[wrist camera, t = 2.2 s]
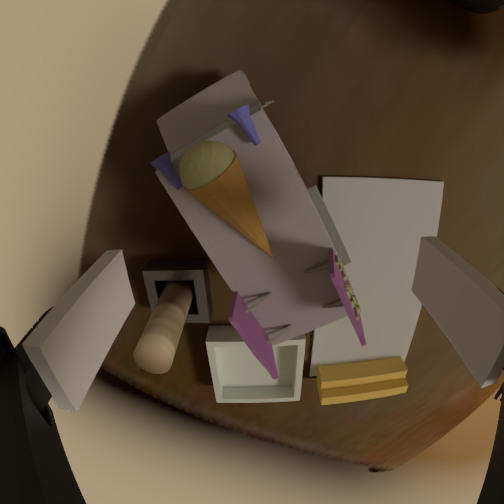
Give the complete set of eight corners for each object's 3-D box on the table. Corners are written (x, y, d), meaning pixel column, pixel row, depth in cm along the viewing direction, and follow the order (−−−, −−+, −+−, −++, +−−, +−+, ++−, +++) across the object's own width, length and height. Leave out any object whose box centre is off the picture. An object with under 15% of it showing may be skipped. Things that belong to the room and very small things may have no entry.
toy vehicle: (252, 70, 24) (231, 25, 11) (344, 246, 31) (389, 344, 17) (167, 120, 26) (76, 134, 13) (265, 282, 33) (259, 392, 20)
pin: (165, 273, 33) (129, 343, 22) (193, 272, 33) (166, 345, 22) (170, 298, 34) (139, 372, 23) (197, 298, 34) (174, 374, 23)
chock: (318, 365, 38) (323, 390, 34) (400, 355, 37) (411, 377, 33) (316, 380, 39) (321, 405, 35) (395, 370, 39) (405, 392, 35)
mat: (322, 176, 29) (323, 177, 28) (442, 181, 28) (443, 182, 28) (309, 374, 39) (309, 376, 39) (402, 363, 39) (403, 364, 38)
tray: (208, 325, 36) (205, 341, 33) (302, 323, 35) (305, 339, 33) (218, 386, 40) (216, 402, 37) (297, 384, 40) (299, 400, 37)
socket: (149, 260, 32) (142, 271, 30) (206, 258, 32) (203, 269, 30) (159, 309, 35) (154, 322, 33) (212, 309, 35) (210, 322, 32)
